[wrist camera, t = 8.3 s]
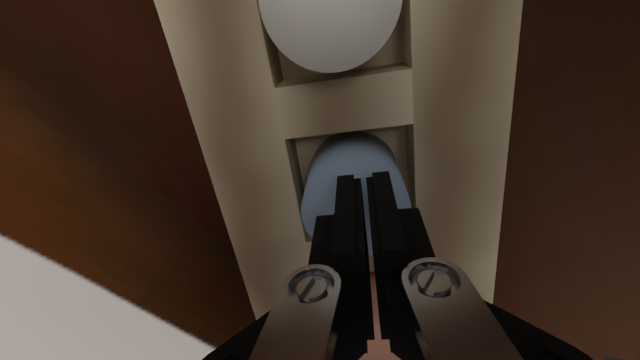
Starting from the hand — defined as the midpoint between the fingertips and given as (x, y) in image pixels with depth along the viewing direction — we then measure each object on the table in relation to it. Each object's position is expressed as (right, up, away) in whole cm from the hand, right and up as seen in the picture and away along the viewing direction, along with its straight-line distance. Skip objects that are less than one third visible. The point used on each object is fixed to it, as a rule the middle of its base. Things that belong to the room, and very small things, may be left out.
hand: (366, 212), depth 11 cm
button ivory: (-1, +8, +1) cm, 8 cm away
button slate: (0, +1, +4) cm, 5 cm away
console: (0, +2, +6) cm, 6 cm away
